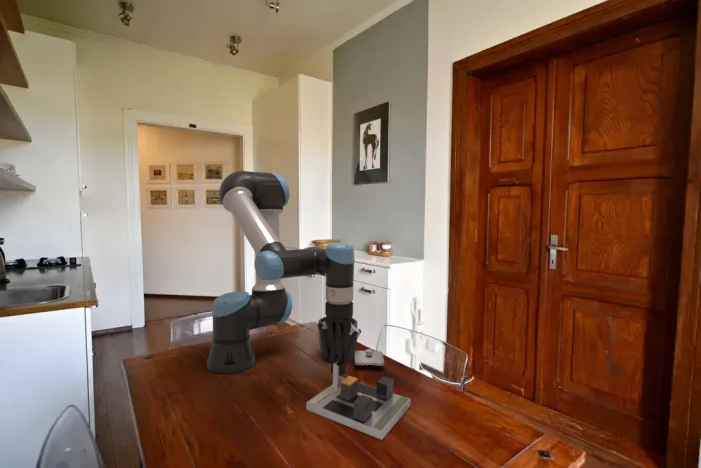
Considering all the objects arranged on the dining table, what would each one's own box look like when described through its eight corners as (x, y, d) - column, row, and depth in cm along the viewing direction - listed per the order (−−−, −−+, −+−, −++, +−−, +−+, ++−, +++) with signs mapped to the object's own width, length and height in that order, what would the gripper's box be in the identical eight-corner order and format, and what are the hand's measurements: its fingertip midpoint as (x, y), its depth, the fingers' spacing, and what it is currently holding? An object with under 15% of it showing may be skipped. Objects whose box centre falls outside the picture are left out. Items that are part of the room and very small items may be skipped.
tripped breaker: (340, 397, 95) (340, 381, 95) (348, 391, 98) (348, 375, 98) (349, 400, 94) (350, 384, 93) (357, 394, 97) (358, 378, 97)
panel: (306, 409, 93) (306, 386, 93) (341, 383, 107) (342, 363, 107) (381, 440, 82) (382, 413, 81) (410, 406, 96) (411, 383, 95)
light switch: (384, 371, 117) (385, 356, 116) (354, 370, 117) (354, 355, 116) (381, 358, 126) (382, 344, 126) (354, 358, 126) (354, 344, 126)
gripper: (311, 300, 96) (310, 384, 98) (352, 307, 90) (350, 398, 91) (327, 295, 103) (326, 374, 104) (367, 301, 96) (365, 386, 97)
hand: (337, 385), depth 98 cm, fingers closed
